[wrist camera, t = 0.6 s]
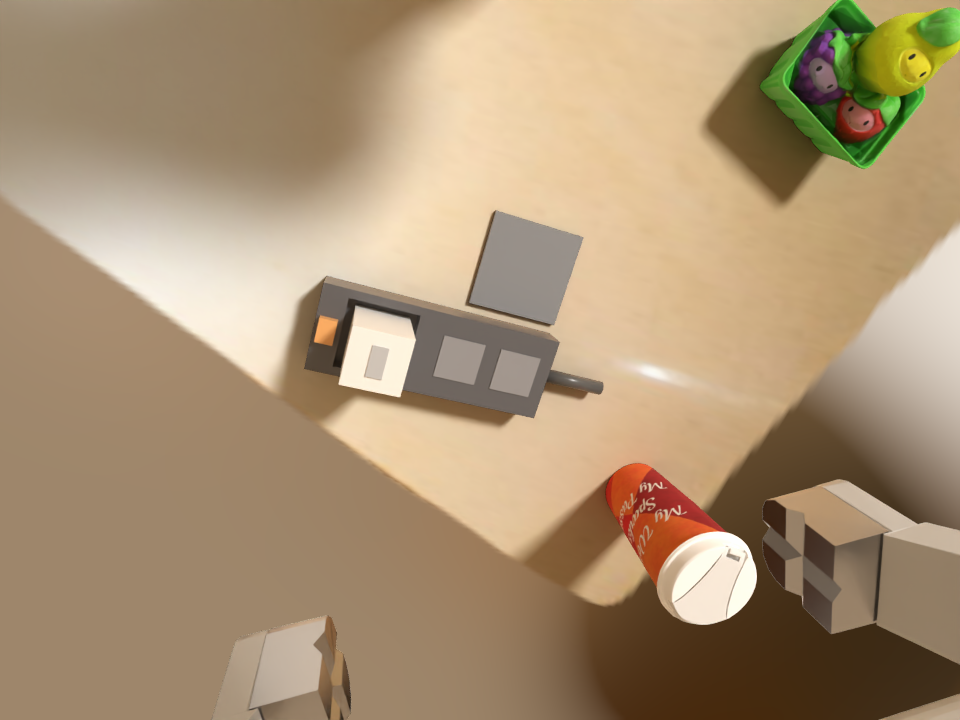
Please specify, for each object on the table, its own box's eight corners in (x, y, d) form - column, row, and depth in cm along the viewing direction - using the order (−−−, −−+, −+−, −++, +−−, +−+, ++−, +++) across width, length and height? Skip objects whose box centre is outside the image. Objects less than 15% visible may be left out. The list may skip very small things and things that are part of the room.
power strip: (326, 275, 47) (322, 284, 43) (608, 348, 53) (625, 360, 49) (308, 357, 48) (302, 371, 45) (582, 418, 55) (597, 434, 51)
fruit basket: (737, 90, 48) (841, 65, 37) (807, -4, 47) (935, -58, 36) (819, 174, 52) (935, 173, 41) (886, 89, 50) (1024, 65, 40)
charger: (355, 304, 46) (352, 325, 39) (409, 317, 47) (415, 340, 41) (343, 355, 47) (338, 384, 40) (396, 367, 48) (400, 398, 42)
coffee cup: (618, 442, 56) (700, 530, 42) (684, 467, 59) (782, 558, 45) (580, 512, 58) (646, 619, 44) (645, 534, 60) (727, 642, 46)
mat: (495, 210, 47) (496, 210, 47) (581, 237, 49) (583, 237, 49) (468, 301, 49) (469, 302, 49) (552, 323, 51) (554, 325, 51)
